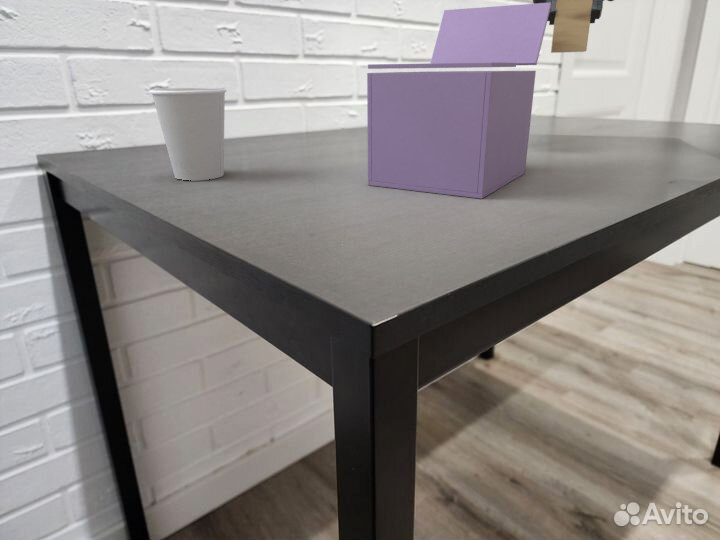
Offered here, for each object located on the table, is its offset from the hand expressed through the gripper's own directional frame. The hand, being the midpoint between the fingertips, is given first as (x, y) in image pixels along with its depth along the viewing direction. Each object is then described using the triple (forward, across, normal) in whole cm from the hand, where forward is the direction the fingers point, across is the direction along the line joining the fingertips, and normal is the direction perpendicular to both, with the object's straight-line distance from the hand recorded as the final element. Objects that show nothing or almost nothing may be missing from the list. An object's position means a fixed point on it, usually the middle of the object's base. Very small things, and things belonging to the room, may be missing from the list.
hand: (572, 18), depth 69 cm
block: (+2, 0, +4) cm, 5 cm away
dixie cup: (+33, -41, -8) cm, 54 cm away
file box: (+29, -12, -4) cm, 32 cm away
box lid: (+12, -10, -8) cm, 17 cm away
